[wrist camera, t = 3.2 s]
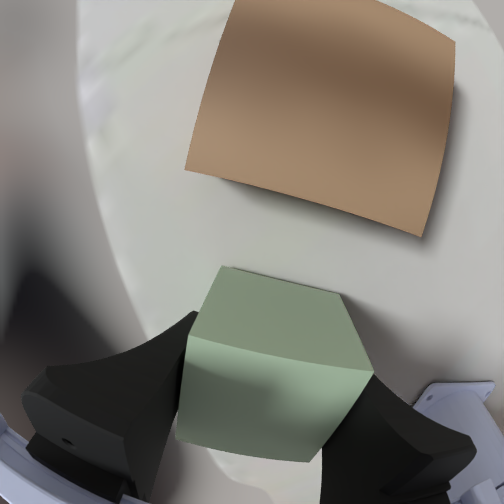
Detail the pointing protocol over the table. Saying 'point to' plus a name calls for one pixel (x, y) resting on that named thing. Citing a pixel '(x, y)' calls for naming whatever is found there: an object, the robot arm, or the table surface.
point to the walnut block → (329, 106)
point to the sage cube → (269, 368)
